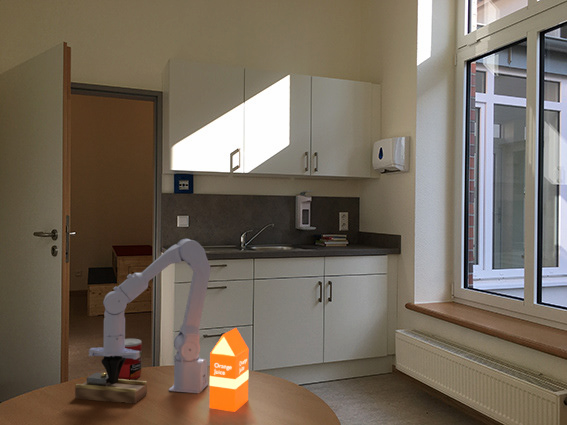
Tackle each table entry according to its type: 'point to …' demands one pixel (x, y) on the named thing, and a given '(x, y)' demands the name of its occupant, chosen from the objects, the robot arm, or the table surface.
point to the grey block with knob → (98, 379)
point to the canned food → (132, 361)
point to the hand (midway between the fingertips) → (113, 382)
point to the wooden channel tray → (113, 391)
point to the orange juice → (229, 372)
